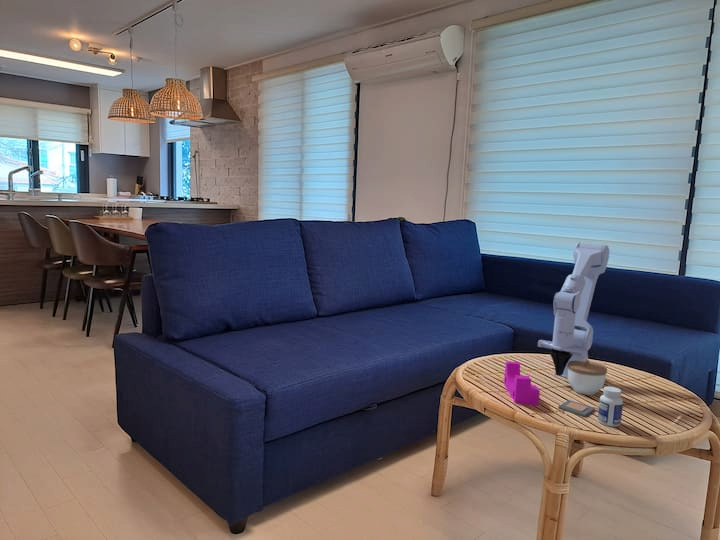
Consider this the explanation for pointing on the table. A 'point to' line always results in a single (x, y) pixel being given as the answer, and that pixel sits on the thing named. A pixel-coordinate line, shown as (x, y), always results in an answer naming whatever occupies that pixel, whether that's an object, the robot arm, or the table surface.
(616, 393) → the pill bottle
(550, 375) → the table surface
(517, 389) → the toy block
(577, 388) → the lidded jar
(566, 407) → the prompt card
